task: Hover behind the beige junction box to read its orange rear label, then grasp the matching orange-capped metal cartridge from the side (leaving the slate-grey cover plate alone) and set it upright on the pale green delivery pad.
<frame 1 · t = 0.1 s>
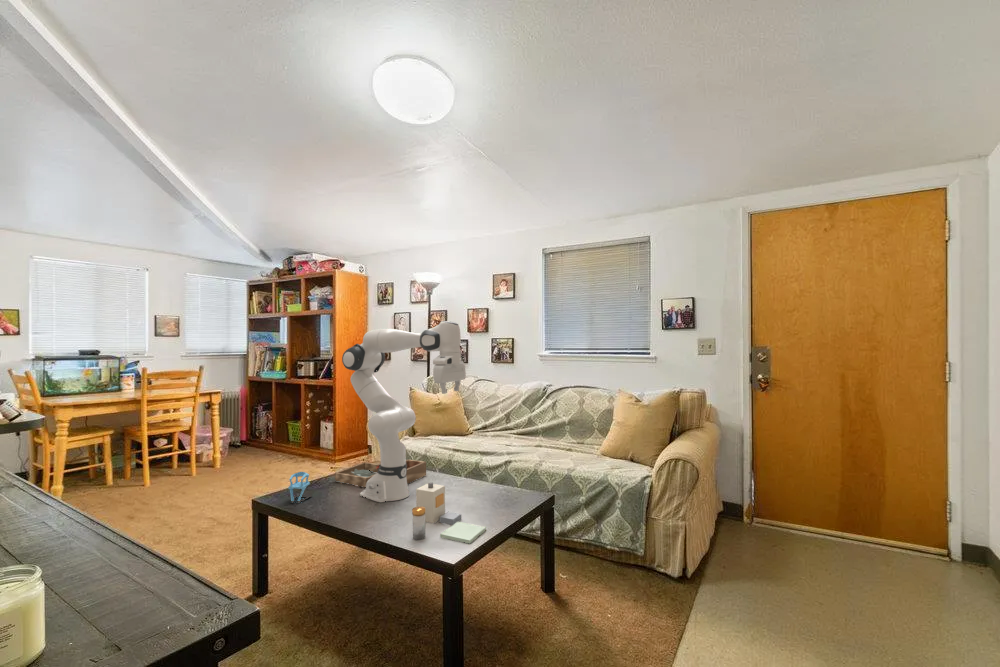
hand: (450, 392, 190), 48 cm above the table, tool pointing down, fingers open, 8 cm apart
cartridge: (419, 537, 160), on the table
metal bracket: (366, 480, 229), on the table
cover plate: (450, 521, 175), on the table
chair: (299, 501, 198), on the table
bracket holder: (406, 479, 227), on the table
delivery pad: (463, 533, 163), on the table
brown wooden tray: (365, 478, 229), on the table
junction box: (430, 518, 177), on the table
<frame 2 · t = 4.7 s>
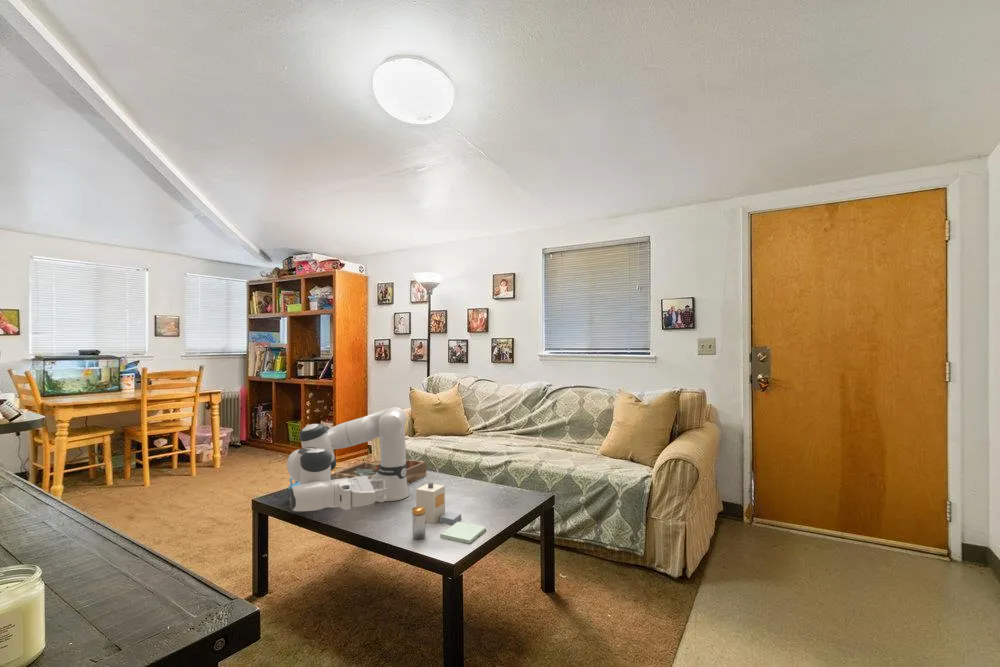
hand: (385, 486, 156), 20 cm above the table, tool horizontal, fingers open, 8 cm apart
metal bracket: (368, 479, 230), on the table
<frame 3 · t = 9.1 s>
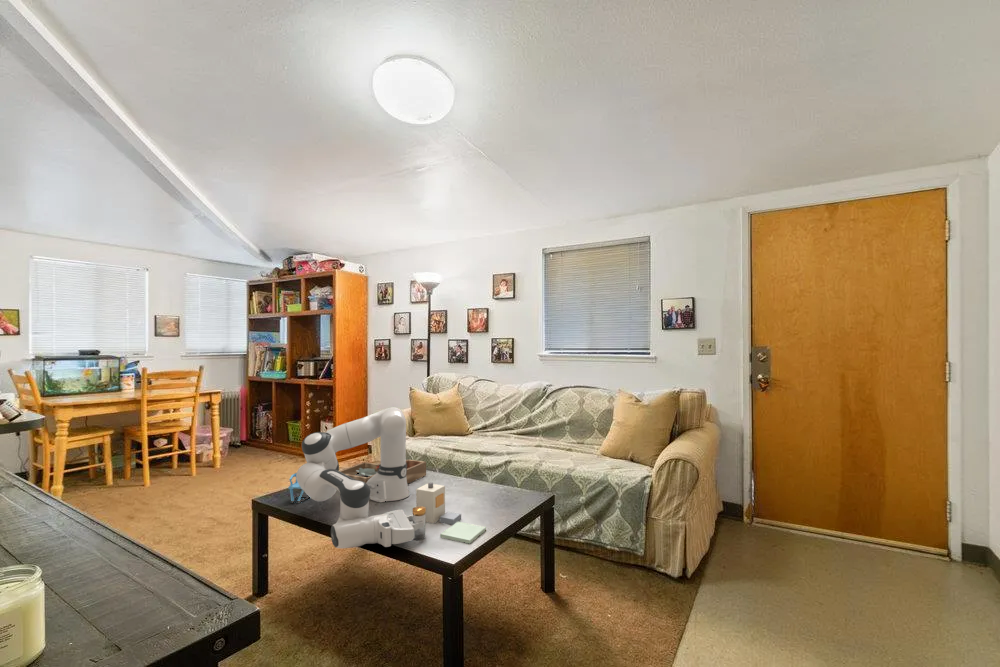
hand: (421, 521, 161), 6 cm above the table, tool horizontal, fingers closed on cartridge, 4 cm apart
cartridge: (419, 537, 160), on the table, touching gripper
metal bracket: (370, 478, 231), on the table
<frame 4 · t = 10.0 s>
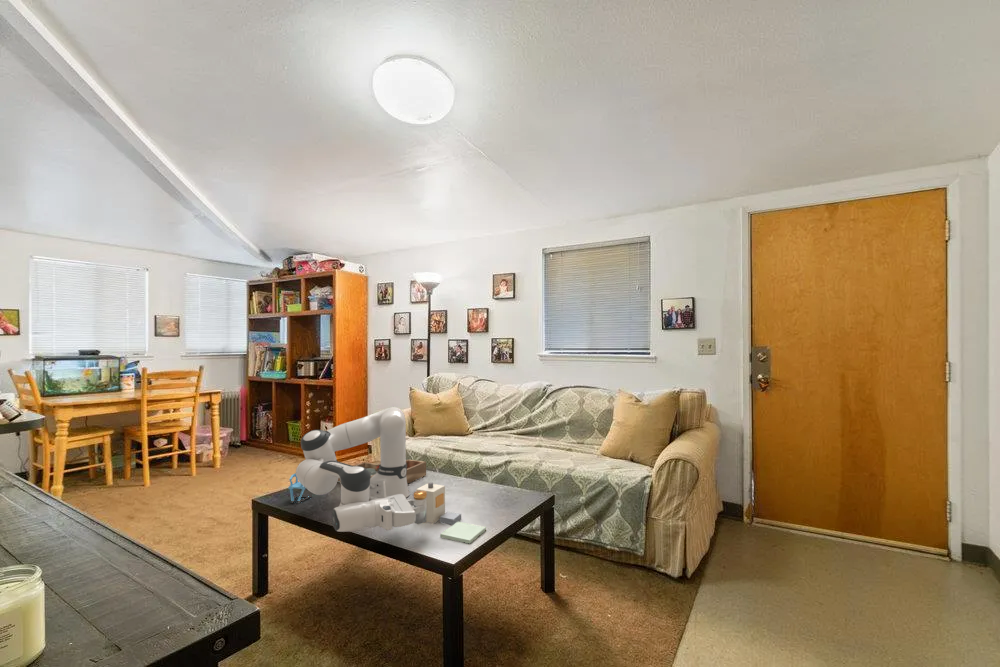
hand: (422, 505, 161), 11 cm above the table, tool horizontal, fingers closed on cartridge, 4 cm apart
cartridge: (420, 521, 160), point 6 cm above the table, touching gripper
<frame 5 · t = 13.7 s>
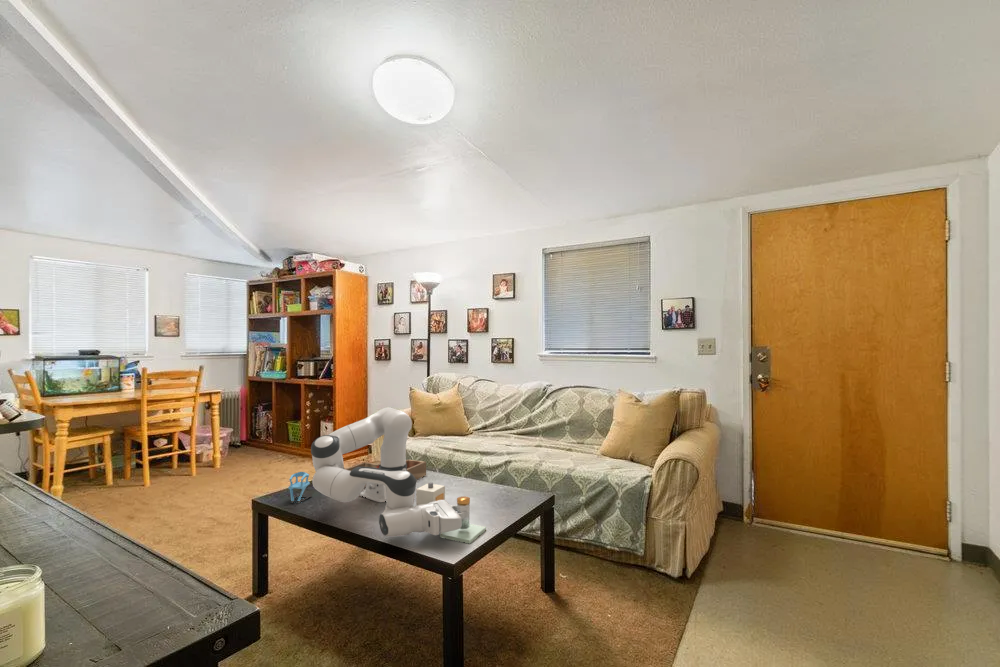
hand: (465, 510, 163), 8 cm above the table, tool horizontal, fingers closed on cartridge, 4 cm apart
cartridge: (463, 526, 163), point 3 cm above the table, touching gripper
when the fingers open (8 cm above the table, at t = 14.1 s): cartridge drops 1 cm, resting on delivery pad.
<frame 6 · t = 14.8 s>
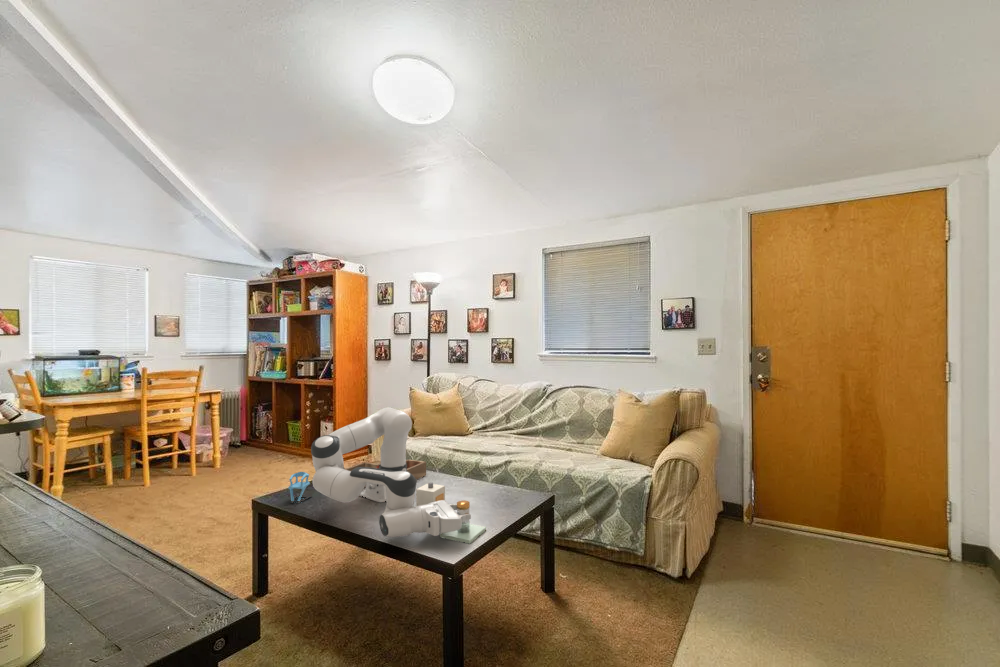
hand: (465, 511, 163), 8 cm above the table, tool horizontal, fingers open, 8 cm apart
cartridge: (463, 530, 163), point 1 cm above the table, touching delivery pad
everything else where it was.
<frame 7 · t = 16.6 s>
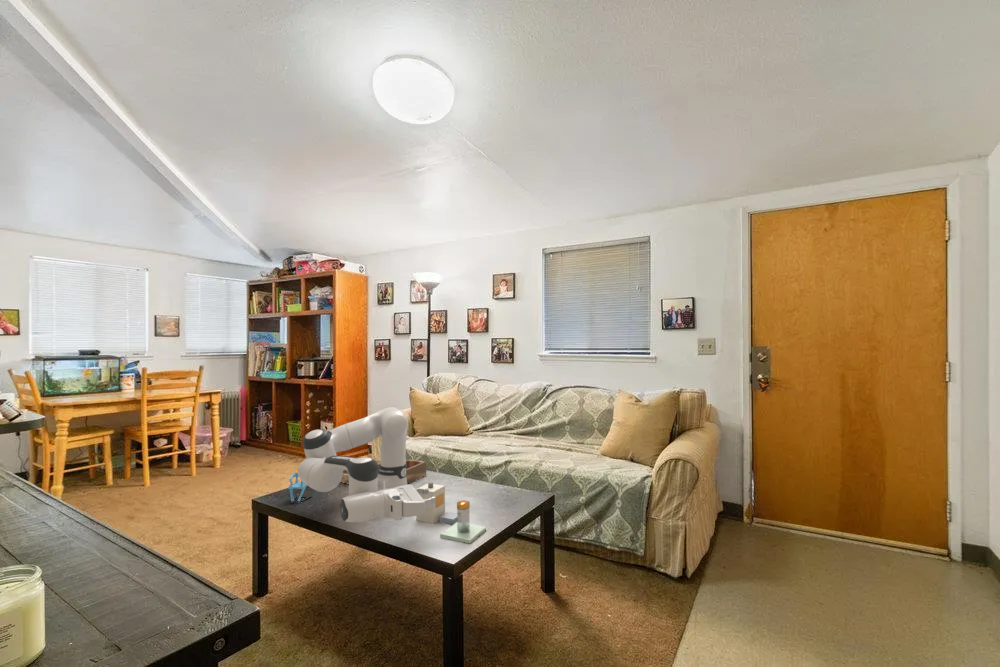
hand: (431, 495, 157), 16 cm above the table, tool horizontal, fingers open, 8 cm apart
nothing on the table moved.
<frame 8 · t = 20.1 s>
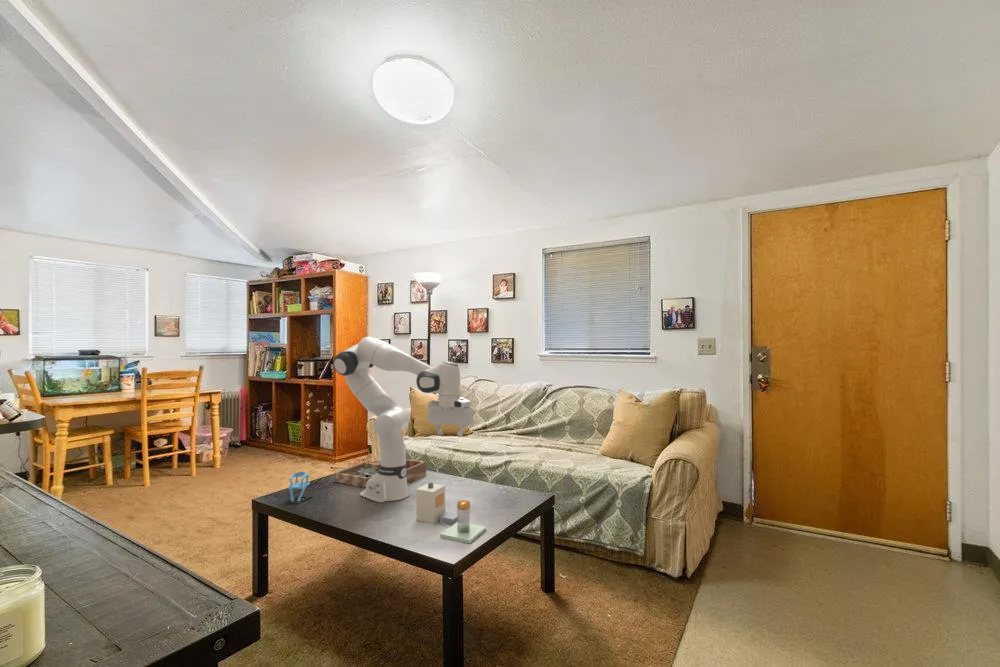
hand: (449, 435, 183), 31 cm above the table, tool pointing down, fingers open, 8 cm apart
at the end: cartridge inside the target area on the delivery pad (0.1 cm from its centre), point 1.2 cm above the delivery pad's base; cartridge tilted 1°; the gripper is holding nothing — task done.
